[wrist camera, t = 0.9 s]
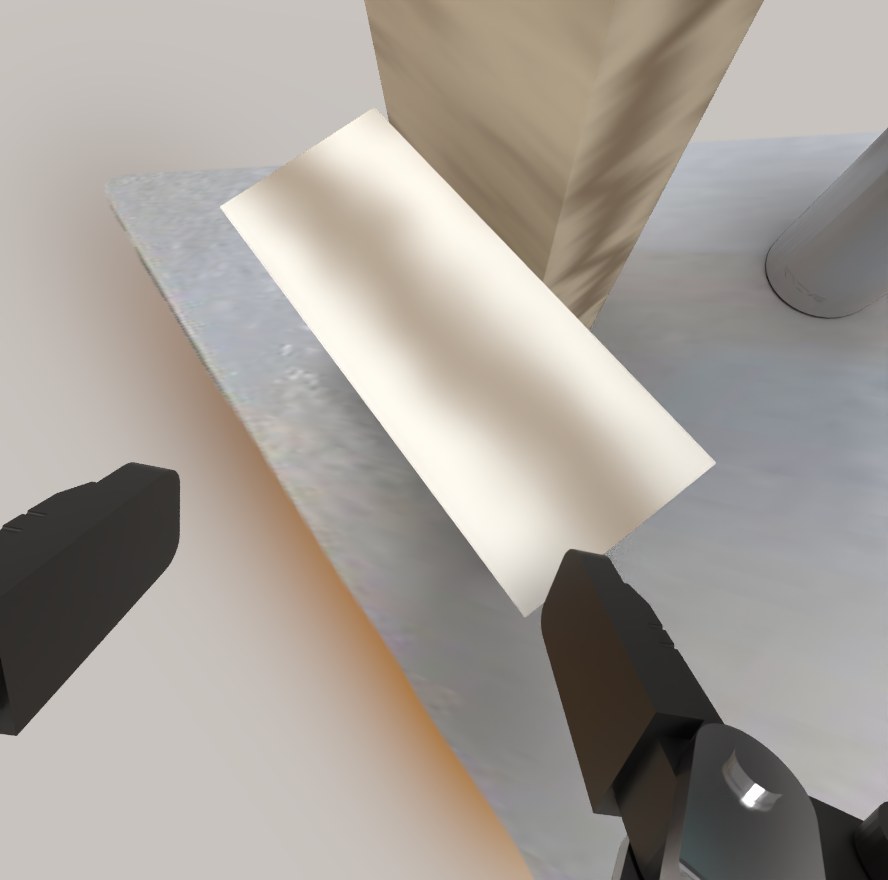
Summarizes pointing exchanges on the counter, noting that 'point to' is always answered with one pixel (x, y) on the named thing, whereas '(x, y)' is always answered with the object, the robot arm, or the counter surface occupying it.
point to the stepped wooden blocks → (503, 256)
